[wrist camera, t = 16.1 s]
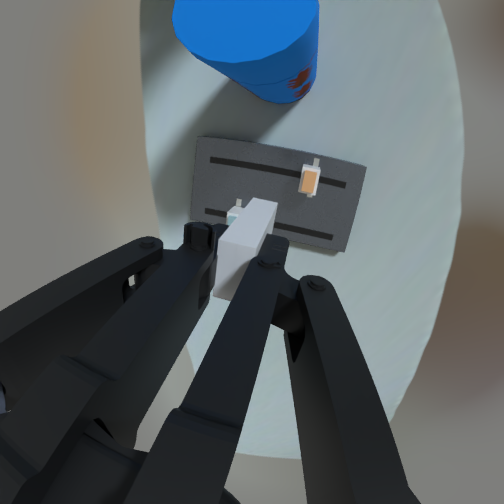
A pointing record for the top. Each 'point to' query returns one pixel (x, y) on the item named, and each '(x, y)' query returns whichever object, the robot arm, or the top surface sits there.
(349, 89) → the top surface
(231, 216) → the fader
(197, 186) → the console
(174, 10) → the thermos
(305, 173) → the fader
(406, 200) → the top surface
